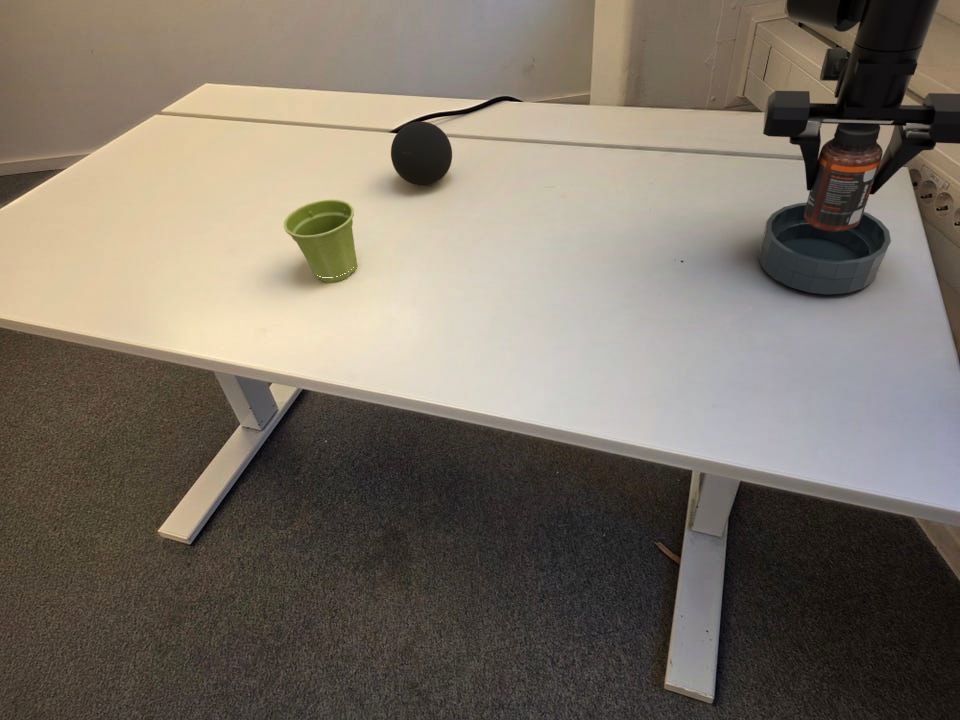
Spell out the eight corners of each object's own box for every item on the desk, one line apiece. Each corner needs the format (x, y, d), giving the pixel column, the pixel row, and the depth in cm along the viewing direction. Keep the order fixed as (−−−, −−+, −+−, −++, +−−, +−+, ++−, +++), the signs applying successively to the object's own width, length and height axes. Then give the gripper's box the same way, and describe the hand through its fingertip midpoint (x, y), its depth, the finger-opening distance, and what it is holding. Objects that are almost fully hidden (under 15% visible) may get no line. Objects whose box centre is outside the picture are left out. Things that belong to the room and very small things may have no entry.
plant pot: (302, 260, 89) (282, 208, 83) (364, 245, 90) (349, 192, 84) (305, 297, 83) (284, 243, 77) (373, 280, 84) (357, 225, 78)
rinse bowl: (870, 240, 78) (884, 206, 74) (880, 305, 69) (896, 269, 66) (759, 231, 82) (767, 198, 78) (755, 290, 73) (764, 256, 70)
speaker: (402, 202, 98) (389, 143, 92) (394, 175, 106) (381, 118, 99) (461, 189, 99) (452, 129, 92) (449, 163, 107) (440, 106, 100)
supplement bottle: (868, 231, 68) (903, 134, 61) (813, 237, 69) (840, 141, 61) (846, 204, 73) (876, 111, 65) (795, 210, 73) (818, 117, 66)
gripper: (988, 13, 60) (925, 162, 71) (782, 17, 66) (753, 153, 77) (1015, 52, 53) (941, 211, 63) (780, 53, 59) (749, 198, 69)
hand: (839, 190), depth 68 cm, fingers closed on supplement bottle, 6 cm apart
